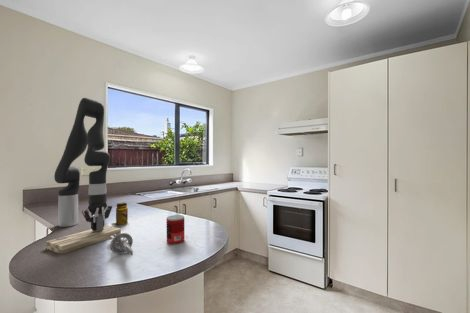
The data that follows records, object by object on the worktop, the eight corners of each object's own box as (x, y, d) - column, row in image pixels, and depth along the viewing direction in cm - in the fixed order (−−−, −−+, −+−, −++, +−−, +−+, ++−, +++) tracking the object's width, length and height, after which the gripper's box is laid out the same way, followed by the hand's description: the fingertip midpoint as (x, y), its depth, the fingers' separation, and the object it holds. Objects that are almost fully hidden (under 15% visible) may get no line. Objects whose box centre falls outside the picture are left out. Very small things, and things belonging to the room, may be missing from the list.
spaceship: (114, 249, 75) (138, 235, 79) (101, 233, 103) (119, 223, 108) (125, 270, 76) (148, 255, 80) (109, 248, 104) (127, 238, 109)
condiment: (129, 224, 132) (129, 203, 132) (112, 227, 127) (112, 205, 128) (127, 221, 138) (127, 201, 138) (111, 224, 134) (111, 203, 134)
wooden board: (46, 248, 97) (46, 241, 97) (105, 231, 120) (105, 225, 120) (61, 254, 91) (61, 245, 91) (120, 234, 114) (120, 228, 114)
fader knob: (92, 234, 110) (92, 216, 110) (98, 232, 112) (98, 214, 113) (97, 235, 108) (97, 217, 108) (103, 233, 111) (103, 215, 111)
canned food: (187, 239, 107) (187, 215, 107) (178, 245, 99) (177, 219, 99) (173, 237, 109) (173, 214, 110) (163, 243, 102) (162, 218, 102)
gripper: (106, 190, 118) (106, 224, 118) (77, 194, 106) (77, 232, 106) (116, 191, 115) (116, 226, 115) (87, 195, 102) (87, 234, 102)
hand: (97, 228), depth 110 cm, fingers closed on fader knob, 3 cm apart
